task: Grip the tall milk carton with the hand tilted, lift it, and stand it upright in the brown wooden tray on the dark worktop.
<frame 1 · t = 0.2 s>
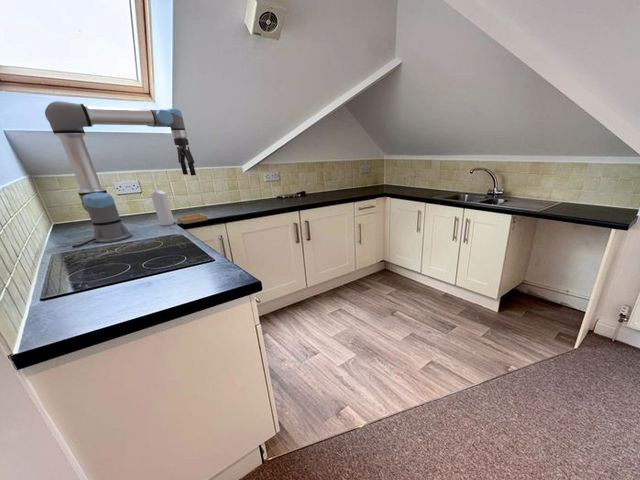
hand: (189, 175, 189), 28 cm above the worktop, tool pointing down, fingers open, 13 cm apart
tray: (192, 220, 195), on the worktop
milk: (167, 224, 187), on the worktop
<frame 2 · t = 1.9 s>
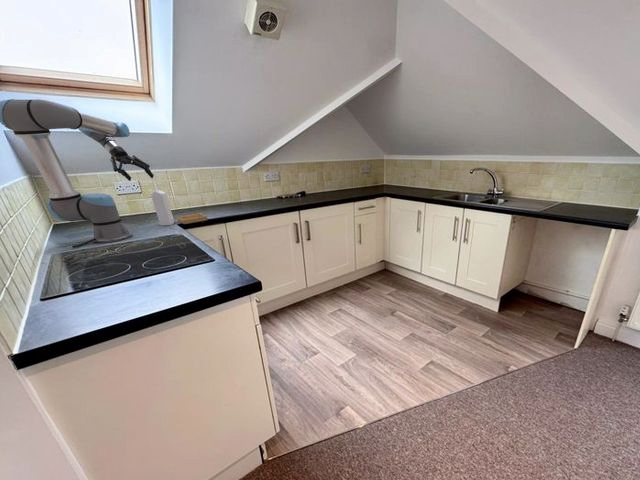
hand: (141, 178, 179), 28 cm above the worktop, tool tilted 45°, fingers open, 13 cm apart
nothing on the worktop moved.
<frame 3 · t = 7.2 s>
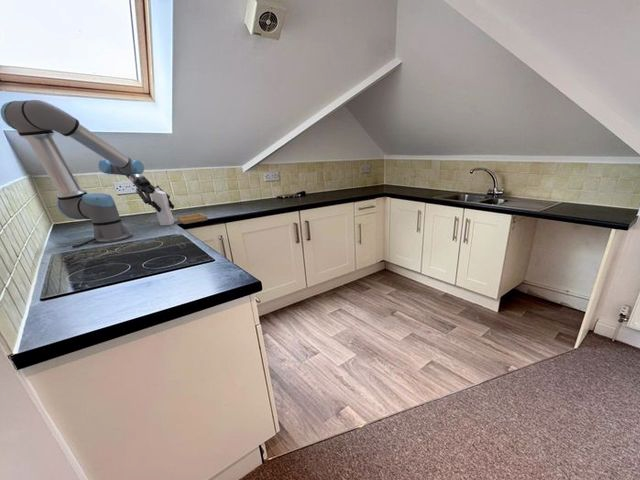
hand: (166, 209, 182), 10 cm above the worktop, tool tilted 45°, fingers closed on milk, 8 cm apart
milk: (167, 224, 187), on the worktop, touching gripper
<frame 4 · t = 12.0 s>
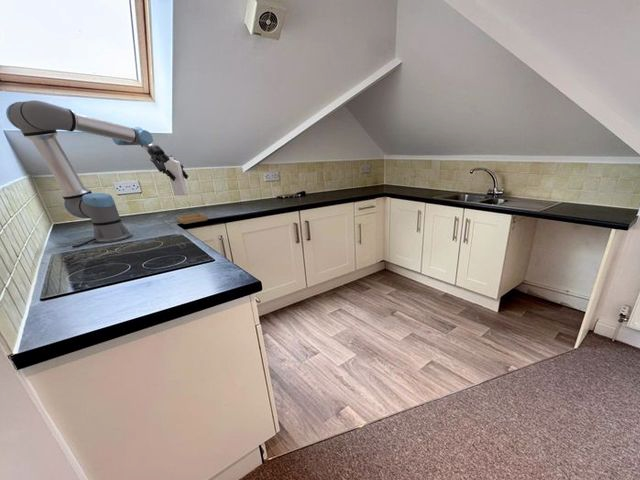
hand: (181, 178, 182), 27 cm above the worktop, tool tilted 45°, fingers closed on milk, 8 cm apart
milk: (181, 194, 187), point 17 cm above the worktop, touching gripper
when the fingers open (10 cm above the worktop, at t = 17.0 s): milk stays where it is, resting on tray.
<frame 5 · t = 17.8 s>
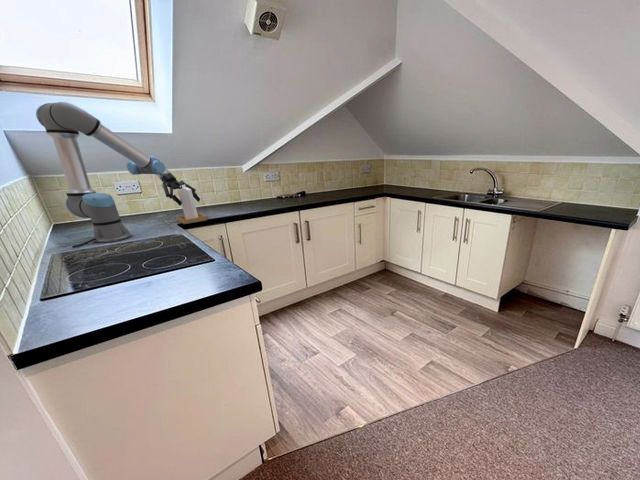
hand: (190, 202, 189), 12 cm above the worktop, tool tilted 45°, fingers open, 13 cm apart
milk: (192, 219, 195), resting on tray
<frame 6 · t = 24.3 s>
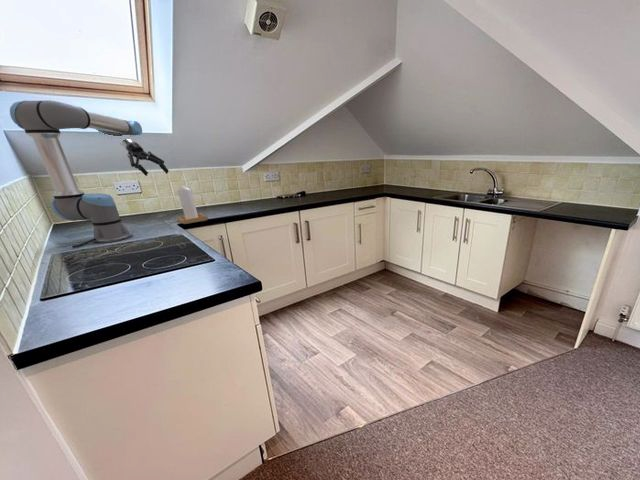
hand: (157, 173, 185), 30 cm above the worktop, tool tilted 45°, fingers open, 13 cm apart
nothing on the worktop moved.
at the end: milk inside the target area in the tray (0.1 cm from its centre), point 0.4 cm above the tray's base; milk tilted 0°; the gripper is holding nothing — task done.
